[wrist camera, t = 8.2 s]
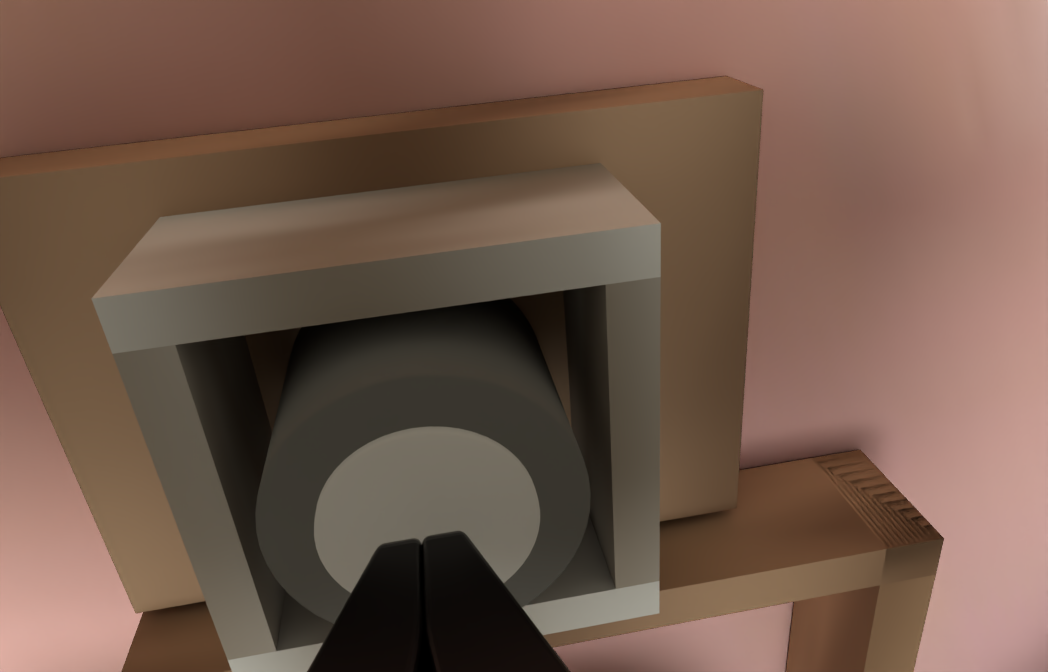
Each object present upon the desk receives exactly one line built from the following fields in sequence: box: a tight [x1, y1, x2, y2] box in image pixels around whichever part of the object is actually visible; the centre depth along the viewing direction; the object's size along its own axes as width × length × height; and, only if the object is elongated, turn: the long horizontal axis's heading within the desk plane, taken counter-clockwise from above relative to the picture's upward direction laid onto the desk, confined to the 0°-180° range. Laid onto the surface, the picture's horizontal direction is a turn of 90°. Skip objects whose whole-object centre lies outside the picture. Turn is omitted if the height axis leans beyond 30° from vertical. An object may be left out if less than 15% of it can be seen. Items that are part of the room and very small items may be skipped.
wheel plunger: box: [255, 298, 591, 624], centre depth 10 cm, size 4×4×3 cm
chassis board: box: [0, 76, 944, 672], centre depth 13 cm, size 13×18×4 cm
